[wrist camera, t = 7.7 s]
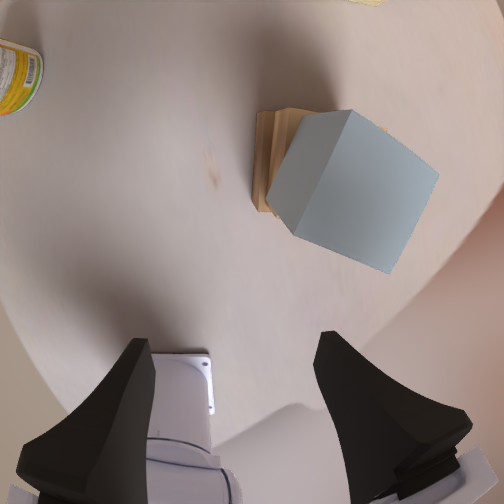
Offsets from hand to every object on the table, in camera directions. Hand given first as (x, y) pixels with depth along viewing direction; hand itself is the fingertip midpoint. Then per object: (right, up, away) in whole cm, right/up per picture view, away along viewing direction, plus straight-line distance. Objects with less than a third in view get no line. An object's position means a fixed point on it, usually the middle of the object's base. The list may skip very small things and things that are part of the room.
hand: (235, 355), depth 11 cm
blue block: (+4, +8, +2) cm, 9 cm away
